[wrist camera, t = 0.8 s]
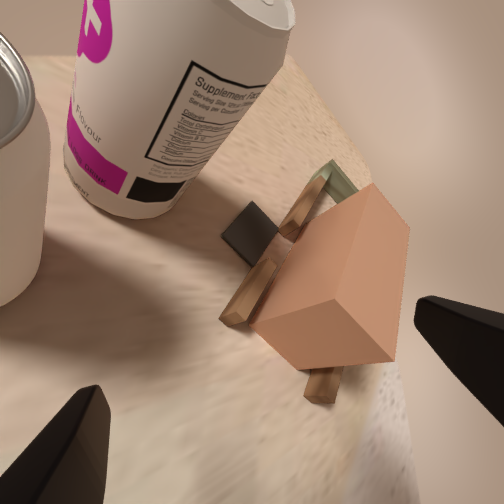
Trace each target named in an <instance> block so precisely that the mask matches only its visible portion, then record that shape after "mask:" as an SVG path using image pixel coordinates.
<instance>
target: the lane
mask: <svg viewBox="0 0 504 504" xmlns="http://www.w3.org/2000/svg"><path fill="white" fill-rule="evenodd" d="M323 187H324V189H325V190H326V191H327V192H328V193H329V194H330V196H331V197H332V198H333V199H334V200H335V201H336V203H337V204H339V203H340V202H342V201H344V200H345V199H347V198H348V197H350V196H352V195H353V194H355V193H357V192H358V191H359V190H358V189H357V188H356V187H355V186H354V184H353V183H352V182H351V181H350V180H349V178H348V177H347V176H346V175H345V174H344V172H343V171H342V170H341V169H340V167H339V166H338V165H337V164H336V163H335V161H334V160H333V159H332V160H331V161H329V162H328V163H327V164H325V165H324V166H323V167H321V168H320V169H319V170H317V171H316V172H315V173H314V175H313V176H312V178H311V179H310V181H309V182H308V184H307V185H306V187H305V188H304V190H303V191H302V193H301V195H300V196H299V198H298V199H297V201H296V202H295V204H294V205H293V207H292V208H291V210H290V211H289V213H288V214H287V216H286V217H285V219H284V220H283V222H282V223H281V225H280V226H279V228H278V227H277V226H276V225H275V224H274V223H273V222H272V221H271V220H270V219H269V218H268V217H267V215H266V214H265V213H264V212H263V211H262V210H261V209H260V208H259V207H258V206H257V205H256V204H255V203H254V202H253V201H251V202H250V203H249V205H248V206H247V207H246V208H245V209H244V210H243V211H242V213H241V214H240V215H239V216H238V217H237V218H236V219H235V221H234V222H233V223H232V224H231V225H230V226H229V227H228V229H227V230H226V231H225V232H224V233H223V234H222V236H221V237H222V238H223V239H224V240H225V241H226V242H227V243H228V244H229V245H230V246H231V247H232V248H233V249H234V250H235V251H236V252H237V253H238V254H239V255H240V256H241V257H242V258H243V259H244V260H245V261H246V262H247V263H248V264H249V265H250V266H251V267H252V268H251V270H250V272H249V273H248V275H247V276H246V278H245V279H244V281H243V282H242V284H241V285H240V287H239V288H238V290H237V291H236V293H235V294H234V296H233V297H232V299H231V300H230V302H229V303H228V305H227V306H226V308H225V309H224V311H223V312H222V314H221V315H220V317H219V319H220V320H221V321H222V322H223V323H224V324H225V325H226V326H227V327H228V326H232V325H235V324H238V323H241V322H244V321H246V320H247V318H248V316H249V314H250V313H251V311H252V309H253V307H254V306H255V304H256V302H257V300H258V299H259V297H260V295H261V294H262V292H263V290H264V288H265V287H266V285H267V283H268V281H269V280H270V278H271V276H272V274H273V273H274V271H275V269H276V267H277V265H276V264H275V263H274V262H273V261H272V260H271V259H270V258H268V259H266V260H264V261H263V262H261V263H259V264H257V265H256V266H255V264H256V263H257V261H258V260H259V258H260V257H261V255H262V254H263V252H264V251H265V249H266V248H267V246H268V245H269V243H270V241H271V240H272V238H273V237H274V235H275V234H276V232H277V231H279V233H280V234H281V235H282V236H283V237H284V236H285V235H287V234H289V233H290V232H292V231H293V230H295V229H297V228H298V227H300V226H301V224H302V222H303V221H304V219H305V217H306V215H307V214H308V212H309V210H310V208H311V207H312V205H313V203H314V201H315V200H316V198H317V196H318V194H319V193H320V191H321V189H322V188H323ZM343 367H344V366H337V367H325V368H313V369H312V371H311V374H310V377H309V380H308V383H307V386H306V389H305V392H304V395H303V396H304V397H305V398H306V399H308V400H309V401H310V402H311V403H334V404H335V400H336V396H337V392H338V388H339V384H340V380H341V375H342V371H343Z"/></svg>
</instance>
